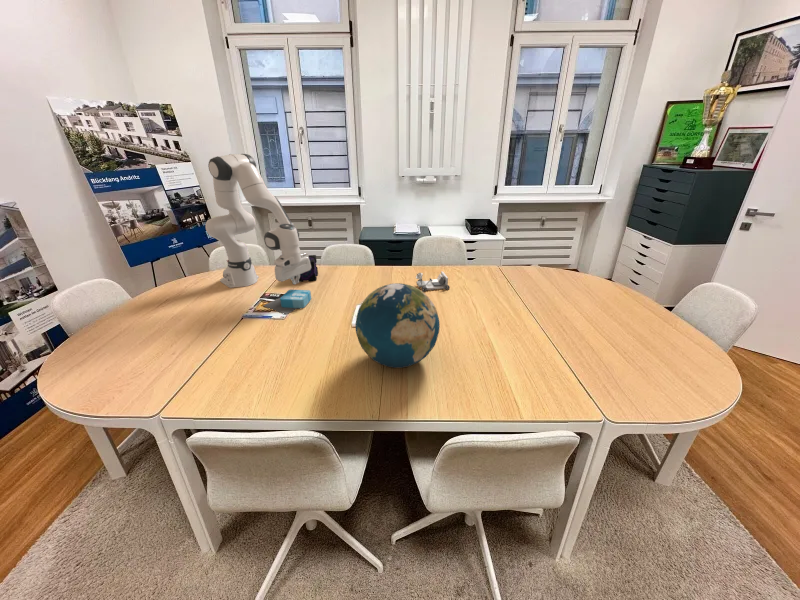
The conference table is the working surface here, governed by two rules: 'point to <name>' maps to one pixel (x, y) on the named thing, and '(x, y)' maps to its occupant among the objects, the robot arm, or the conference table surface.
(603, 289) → the conference table surface
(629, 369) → the conference table surface
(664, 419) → the conference table surface
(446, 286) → the toy car
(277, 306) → the mat
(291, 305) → the light blue flat block
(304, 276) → the energy cube
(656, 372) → the conference table surface
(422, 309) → the globe
